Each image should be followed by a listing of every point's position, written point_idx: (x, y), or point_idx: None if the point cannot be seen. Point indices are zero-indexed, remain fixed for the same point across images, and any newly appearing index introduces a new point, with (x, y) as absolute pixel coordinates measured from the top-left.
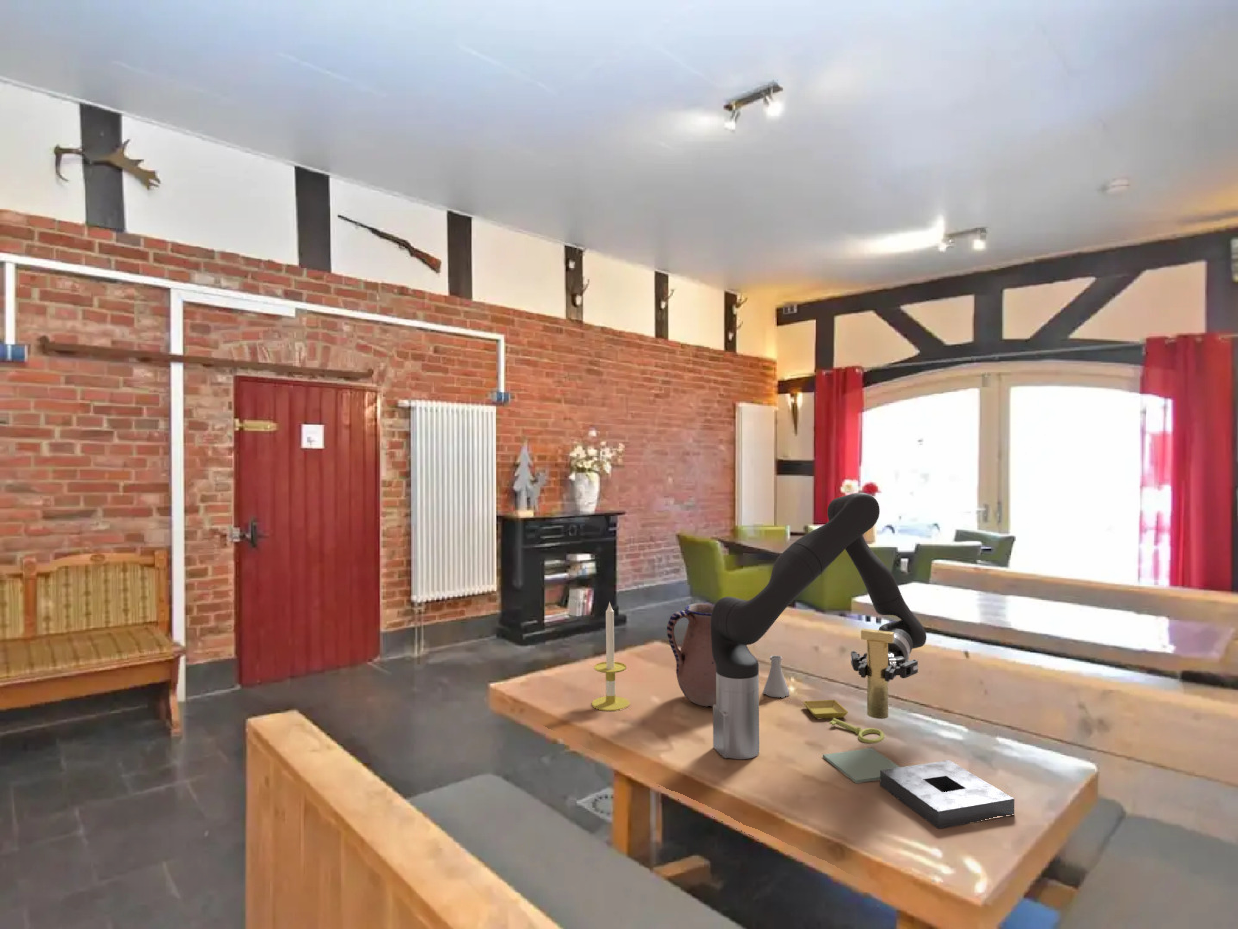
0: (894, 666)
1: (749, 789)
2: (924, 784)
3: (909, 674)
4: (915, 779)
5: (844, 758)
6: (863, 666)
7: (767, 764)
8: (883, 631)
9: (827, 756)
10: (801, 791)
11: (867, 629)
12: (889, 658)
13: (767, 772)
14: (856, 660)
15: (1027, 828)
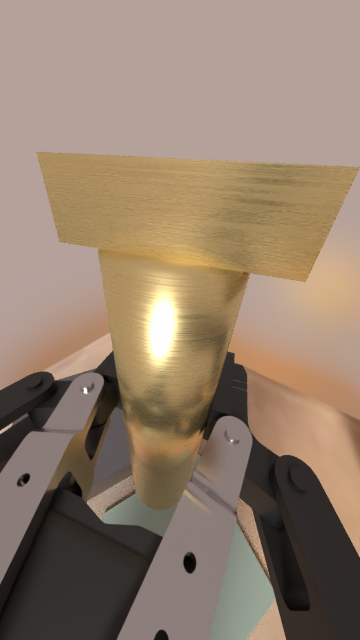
0: (89, 375)
1: (311, 410)
2: (115, 409)
3: (3, 433)
4: (121, 422)
5: (225, 578)
6: (226, 355)
7: (347, 505)
8: (126, 158)
9: (263, 581)
10: (259, 417)
11: (287, 166)
12: (54, 460)
13: (325, 467)
14: (287, 460)
15: None
